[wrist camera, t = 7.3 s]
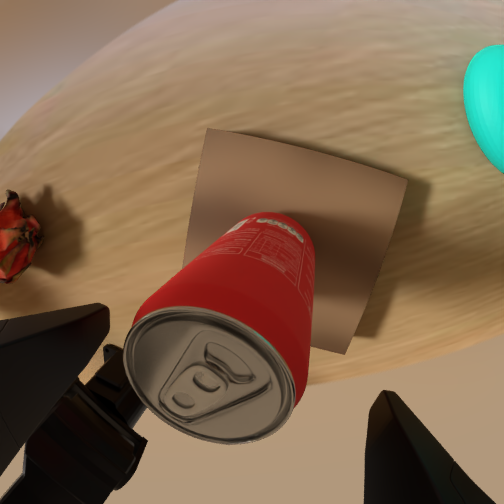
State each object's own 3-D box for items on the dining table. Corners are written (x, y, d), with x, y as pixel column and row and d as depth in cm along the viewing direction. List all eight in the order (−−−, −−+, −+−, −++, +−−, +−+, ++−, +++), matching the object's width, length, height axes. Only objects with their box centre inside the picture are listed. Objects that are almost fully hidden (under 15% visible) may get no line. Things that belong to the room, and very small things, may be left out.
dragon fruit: (6, 226, 29) (73, 212, 28) (-7, 293, 26) (60, 293, 25) (-40, 195, 21) (23, 169, 20) (-60, 271, 18) (-3, 266, 17)
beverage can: (333, 250, 18) (350, 396, 6) (275, 307, 19) (222, 465, 8) (267, 190, 17) (174, 250, 6) (213, 253, 19) (93, 368, 8)
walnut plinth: (342, 335, 22) (344, 354, 19) (190, 291, 23) (177, 305, 21) (397, 177, 18) (408, 179, 16) (219, 131, 19) (207, 127, 17)
